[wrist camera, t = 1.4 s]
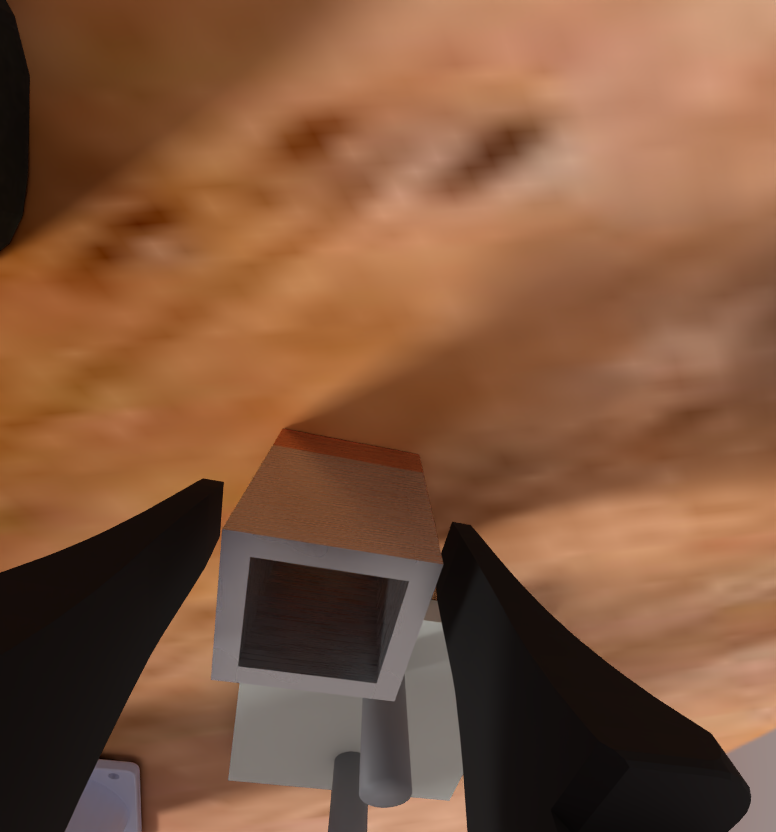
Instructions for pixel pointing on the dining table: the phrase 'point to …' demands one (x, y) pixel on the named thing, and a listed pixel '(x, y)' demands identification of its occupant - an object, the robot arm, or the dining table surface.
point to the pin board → (357, 737)
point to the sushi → (12, 125)
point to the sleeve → (326, 569)
